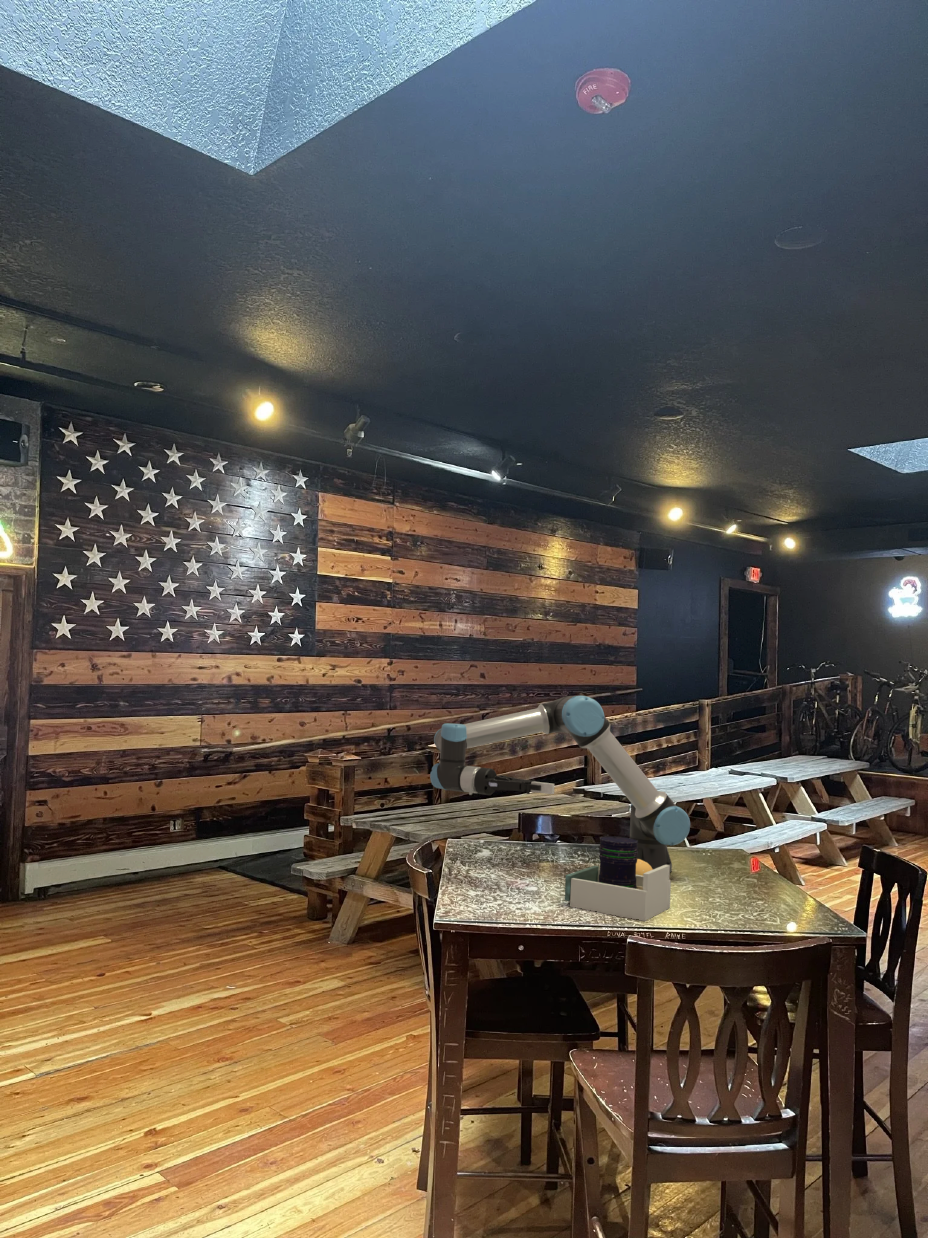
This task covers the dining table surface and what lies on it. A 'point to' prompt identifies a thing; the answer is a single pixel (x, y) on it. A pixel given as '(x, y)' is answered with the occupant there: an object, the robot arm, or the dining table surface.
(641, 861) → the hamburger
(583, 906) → the dock
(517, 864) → the dining table surface
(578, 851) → the dining table surface
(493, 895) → the dining table surface
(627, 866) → the storage jar
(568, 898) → the tray
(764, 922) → the dining table surface
